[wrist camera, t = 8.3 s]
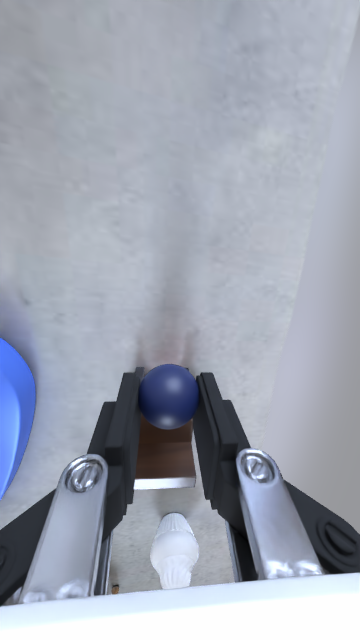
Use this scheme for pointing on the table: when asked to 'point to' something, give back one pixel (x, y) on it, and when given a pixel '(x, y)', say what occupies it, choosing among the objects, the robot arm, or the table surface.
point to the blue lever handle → (168, 396)
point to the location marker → (14, 411)
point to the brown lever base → (164, 455)
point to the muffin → (174, 551)
